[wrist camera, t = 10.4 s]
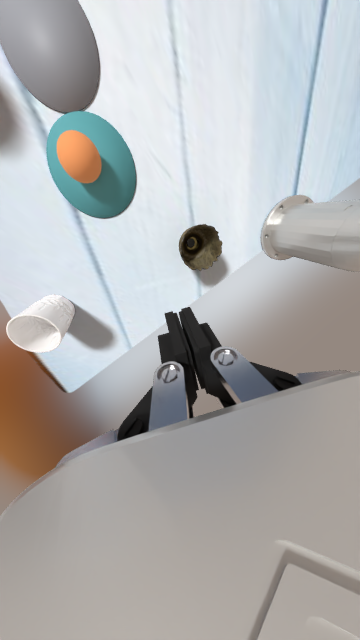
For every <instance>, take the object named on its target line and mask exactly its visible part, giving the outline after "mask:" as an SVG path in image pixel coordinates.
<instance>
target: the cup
mask: <svg viewBox="0 0 360 640" xmlns="http://www.w3.org/2000/svg"><path fill="white" fill-rule="evenodd" d="M189 239H193V240H194V242H195V244H194V246H193V247H188V245H187V241H188V240H189ZM221 246H222V241H220V240H219V236H218V232H217V231H216V230H215V228H214V227H212V226H208V225H206V224H202V225H196V226H193V227H191V228H189V229H187V230H186V231H185V232H184V233H183V234H182V236H181V238H180V241H179V251H180V254H181V257H182V259H183V261H184V263H185V264H186V265H187V266H188V267H189V268H191V269H192V270H196V269H197V270H199V271H201V270H202V269H208V268H209V267H212V265H213V262H216V261H217V260H218V259H217V257H218V256H220V254H221V253H222V247H221Z"/></svg>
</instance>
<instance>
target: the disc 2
mask: <svg viewBox="0 0 360 640" xmlns="http://www.w3.org/2000/svg"><path fill="white" fill-rule="evenodd" d="M68 130H75V131H79V132H81V133H83V134H84V135H86V136H87V137H88V138H89V139H90V140H91V141H92V142H93V143H94V145H95V146H96V148H97V150H98V152H99V155H100V158H101V165H102V166H101V173H100V175H99V177H98V178H97V179H96V180H95V181H94V182H92V183H81V182H78V181H76V180H75V179H73V178H72V177H71V176H69V175H68V174H67V172H66V171H65V170H64V168H63V167H62V165H61V163H60V161H59V159H58V155H57V141H58V138H59V136H60V135H61V134H62V133H63V132H65V131H68ZM47 161H48V166H49V169H50V173H51V175H52V178H53V180H54V182H55V184H56V186H57V187H58V189H59V190H60V192H61V193H62V194H63V196H64V197H65V198H66V199H67V200H68V201H69V202H70V203H71V204H72V205H73V206H74V207H76V208H77V209H78V210H80V211H82V212H84V213H85V214H88V215H90V216H94V217H100V218H107V217H112V216H115V215H117V214H119V213H121V212H122V211H123V210H124V209H125V208H126V207H127V206H128V205H129V203H130V201H131V199H132V197H133V194H134V191H135V184H136V173H135V166H134V162H133V159H132V155H131V153H130V151H129V148H128V146H127V144H126V143H125V141H124V140H123V138H122V136H121V135H120V134H119V133H118V131H117V130H116V129H115V128H114V127H113V126H112V125H111V124H109V123H108V122H107V121H106V120H104V119H103V118H101V117H99V116H97V115H95V114H93V113H89V112H84V111H74V112H70V113H67V114H65V115H63V116H62V117H60V118H59V119H58V120H57V121H56V122H55V123H54V125H53V127H52V128H51V130H50V133H49V136H48V140H47Z"/></svg>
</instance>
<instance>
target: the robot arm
mask: <svg viewBox="0 0 360 640" xmlns="http://www.w3.org/2000/svg"><path fill="white" fill-rule="evenodd" d="M261 244H262V248H263V250H264V252H265V253H266V254H267V255H268V256H269V257H270V258H273V259H276V260H285V259H289V258H291V257H297V258H301V259H305V260H309V261H312V262H316V263H320V264H323V265H327V266H331V267H335V268H338V269H343V270H346V271H351V272H360V200H349V201H335V202H321V203H314V202H313V201H312V200H311V199H310V198H309V197H307V196H304V195H294V196H290V197H287V198H285V199H283V200H282V201H280V202H279V203H278V204H277V205H276V206H275V207H274V208H273V209H272V210H271V212H270V213H269V214H268V216H267V218H266V220H265V222H264V225H263V228H262V232H261ZM181 310H182V311H181V312H179V315H180V320H181V324H182V327H181V324H180V321H179V318H178V316H177V313H173V311H172V312H168V313H165V318H166V322H167V326H168V330H169V333H166V334H163V335H159V336H158V341H159V348H160V355H161V362H162V365H160V366H159V367H158V368H157V369H156V371H155V373H154V381H153V386H152V388H151V389H150V390H149V391H148V392H147V394H146V395H145V396H144V397H143V399H142V400H141V401H140V402H139V403H138V405H137V406H136V407H135V408H134V409H133V411H132V412H131V413H130V414H129V415H128V417H127V418H126V419H125V420H124V421H123V423H122V425H121V426H120V428H119V429H117V430H115V431H114V429H112V430H110V431H108V432H106V433H105V434H103V435H101V436H99V437H97V438H95V439H94V440H92V441H90V442H88V443H86V444H84V445H82V446H81V447H79V448H77V449H75V450H73V451H72V452H70V453H68V454H67V455H66V456H64V457H63V458H62V459H61V460H60V462H59V463H58V464H57V466H56V468H54V469H53V470H52V471H50V472H48V473H47V474H46V475H44V476H43V477H41V478H40V479H38V480H37V481H36V482H35V483H33V484H32V485H30V486H29V487H28V488H27V489H26V490H24V491H23V492H22V493H21V494H20V495H19V496H18V497H17V498H16V499H15V500H14V501H13V502H12V503H11V504H10V505H9V506H8V507H7V508H6V510H5V511H4V512H3V514H2V515H1V516H0V640H360V371H358V372H349V371H346V370H335V371H323V372H310V373H298V374H297V375H296V376H293V375H291V374H288V373H286V372H283V371H279V370H275V369H272V368H269V367H266V366H262V365H259V364H255V363H252V362H249V361H248V360H247V359H246V358H244V357H243V355H242V354H240V352H238V351H237V350H236V349H234V348H232V347H226V346H225V347H222V346H221V344H220V343H219V341H218V340H217V338H216V336H215V335H214V333H213V332H212V330H211V328H210V327H209V325H208V324H207V323H203V324H199V323H198V321H197V320H196V318H195V316H194V314H193V312H192V310H191V308H190V307H187V308H183V309H181ZM194 369H195V370H194ZM195 372H196V375H197V378H198V381H199V384H200V386H201V389H204V388H205V390H206V393H207V394H208V393H209V394H211V395H213V396H215V397H216V400H217V402H218V404H219V405H220V407H221V409H220V410H217V411H213V412H210V413H207V414H204V415H200V416H198V417H194V408H193V404H194V402H195V400H196V399H197V393H196V390H199V389H198V384H197V379H196V375H195Z"/></svg>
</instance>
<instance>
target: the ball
mask: <svg viewBox="0 0 360 640" xmlns="http://www.w3.org/2000/svg"><path fill="white" fill-rule="evenodd" d="M57 155H58V159H59V161H60V163H61V165H62V167H63V168H64V170H65V171H66V172H67V174H68V175H69V176H71V177H72V178H73V179H75V180H76V181H78V182H81V183H92V182H94V181H95V180H96V179H97V178H98V177H99V175H100V173H101V166H102V165H101V158H100V155H99V152H98V150H97V148H96V146H95V145H94V143H93V142H92V141H91V140H90V139H89V138H88V137H87V136H86V135H84V134H83V133H81V132H79V131H75V130H68V131H65V132H63V133H62V134H61V135H60V136H59V138H58V141H57Z"/></svg>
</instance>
